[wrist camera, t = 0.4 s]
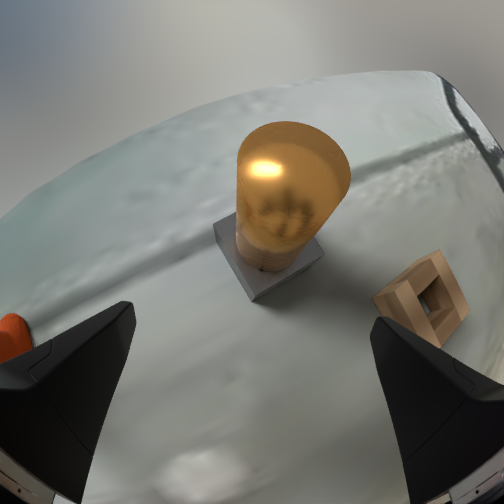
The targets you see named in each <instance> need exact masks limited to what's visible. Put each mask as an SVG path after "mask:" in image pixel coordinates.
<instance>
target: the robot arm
mask: <svg viewBox="0 0 504 504" xmlns="http://www.w3.org/2000/svg"><path fill="white" fill-rule="evenodd" d="M135 328H136V317H135V311H134V306H133V303H132V302H128V301H120V302H119V303H117V304H115V305H113V306H111V307H109V308H107V309H105V310H104V311H102V312H100V313H98V314H96V315H94V316H92V317H90V318H89V319H87V320H85V321H83V322H81V323H79V324H78V325H76V326H74V327H72V328H70V329H68V330H66V331H65V332H63V333H61V334H59V335H57V336H56V337H54V338H52V339H50V340H48V341H46V342H45V343H43V344H41V345H39V346H37V347H35V348H33V349H31V350H29V351H27V352H25V353H23V354H20V355H18V356H16V357H14V358H12V359H9V360H7V361H5V362H3V363H0V504H53V501H54V498H55V494H57V495H59V496H61V497H63V498H65V499H67V500H69V501H71V502H73V503H75V504H81V502H82V498H83V493H84V489H85V485H86V481H87V477H88V474H89V470H90V466H91V463H92V459H93V455H94V452H95V448H96V445H97V442H98V439H99V436H100V432H101V429H102V426H103V423H104V420H105V417H106V414H107V411H108V408H109V406H110V403H111V400H112V397H113V394H114V392H115V389H116V386H117V384H118V381H119V378H120V376H121V373H122V370H123V368H124V365H125V363H126V360H127V356H128V353H129V349H130V345H131V342H132V338H133V335H134V331H135ZM370 341H371V345H372V350H373V354H374V359H375V364H376V368H377V372H378V375H379V379H380V382H381V385H382V388H383V391H384V395H385V398H386V401H387V405H388V408H389V412H390V415H391V419H392V422H393V426H394V430H395V434H396V438H397V442H398V446H399V450H400V454H401V458H402V462H403V468H404V473H405V477H406V482H407V487H408V493H409V498H410V504H426V503H428V502H431V501H433V500H435V499H437V498H439V497H441V496H443V495H445V494H447V493H448V494H449V497H450V501H448V502H446V503H445V504H504V385H502V384H499V383H497V382H495V381H494V380H492V379H490V378H488V377H486V376H484V375H482V374H481V373H479V372H477V371H475V370H473V369H472V368H470V367H468V366H466V365H465V364H463V363H462V362H460V361H458V360H457V359H455V358H454V357H453V358H452V356H450V355H449V354H447V353H446V352H444V351H442V350H441V349H439V348H438V347H436V346H434V345H433V344H431V343H430V342H428V341H427V340H425V339H423V338H422V337H420V336H418V335H417V334H415V333H414V332H412V331H410V330H409V329H407V328H406V327H404V326H402V325H401V324H399V323H397V322H396V321H394V320H393V319H391V318H389V317H387V316H379V317H377V318H376V320H375V323H374V326H373V328H372V331H371V334H370Z"/></svg>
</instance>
